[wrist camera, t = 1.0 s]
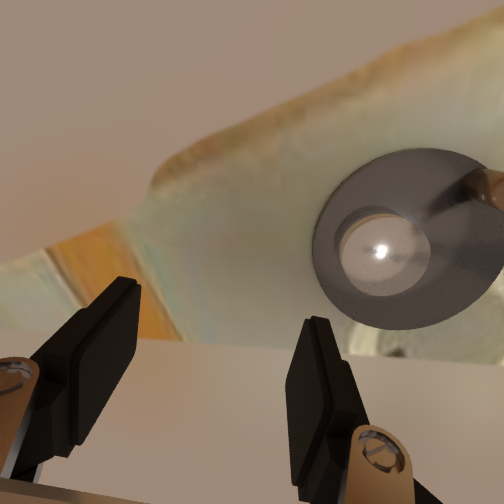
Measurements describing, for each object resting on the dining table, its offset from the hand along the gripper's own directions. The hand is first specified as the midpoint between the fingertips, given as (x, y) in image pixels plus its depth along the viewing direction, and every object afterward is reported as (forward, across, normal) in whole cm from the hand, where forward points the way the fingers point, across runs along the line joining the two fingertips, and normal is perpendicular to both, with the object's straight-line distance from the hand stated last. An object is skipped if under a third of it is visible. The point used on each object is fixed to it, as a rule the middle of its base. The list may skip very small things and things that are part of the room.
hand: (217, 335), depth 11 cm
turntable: (+17, -14, 0) cm, 22 cm away
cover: (+16, -10, 0) cm, 19 cm away
